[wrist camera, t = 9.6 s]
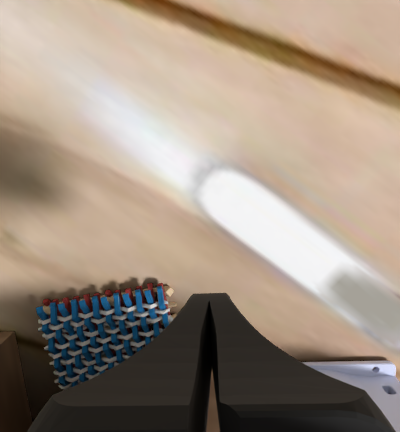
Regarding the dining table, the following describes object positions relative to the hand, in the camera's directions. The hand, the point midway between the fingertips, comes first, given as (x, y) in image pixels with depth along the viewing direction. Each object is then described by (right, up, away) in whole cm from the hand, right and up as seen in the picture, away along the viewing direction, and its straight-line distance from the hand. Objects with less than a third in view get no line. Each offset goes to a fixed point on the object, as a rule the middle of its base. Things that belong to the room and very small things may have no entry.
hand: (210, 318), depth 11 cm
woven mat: (-7, -7, +13) cm, 16 cm away
